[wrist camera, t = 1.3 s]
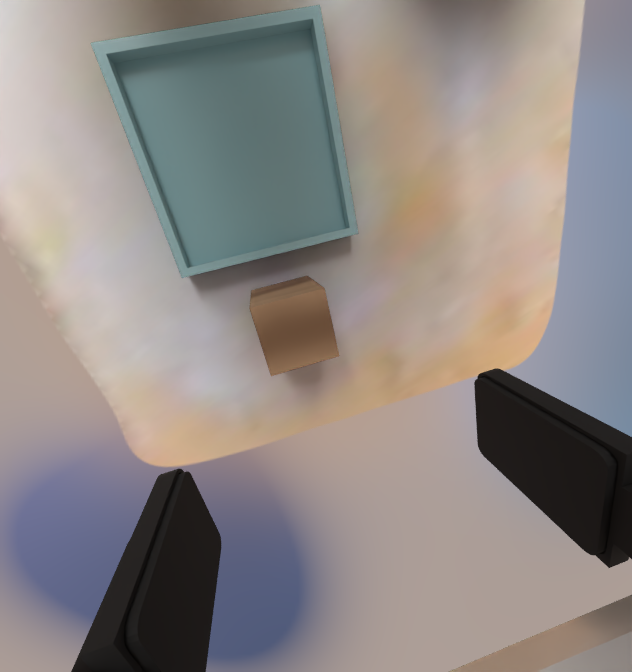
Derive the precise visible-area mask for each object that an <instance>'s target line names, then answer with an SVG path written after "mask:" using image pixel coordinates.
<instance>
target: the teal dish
mask: <svg viewBox="0 0 632 672" xmlns="http://www.w3.org/2000/svg"><path fill="white" fill-rule="evenodd" d="M91 45H92V48H93V51H94V53H95V56H96V58H97V61H98V63H99V66H100V69H101V71H102V74H103V76H104V79H105V81H106V84H107V87H108V89H109V92H110V94H111V97H112V99H113V102H114V105H115V107H116V110H117V112H118V115H119V117H120V120H121V123H122V125H123V128H124V130H125V133H126V135H127V138H128V141H129V143H130V146H131V148H132V151H133V153H134V156H135V158H136V161H137V164H138V166H139V169H140V171H141V174H142V176H143V179H144V182H145V184H146V187H147V189H148V192H149V194H150V197H151V200H152V202H153V205H154V207H155V210H156V212H157V215H158V218H159V220H160V223H161V225H162V228H163V230H164V233H165V236H166V238H167V241H168V243H169V246H170V248H171V251H172V254H173V256H174V259H175V261H176V264H177V266H178V269H179V272H180V274H181V277H182V278H184V277H188V276H192V275H196V274H200V273H204V272H208V271H212V270H216V269H220V268H224V267H228V266H232V265H236V264H240V263H244V262H248V261H252V260H256V259H260V258H264V257H268V256H272V255H276V254H280V253H284V252H288V251H292V250H296V249H300V248H304V247H307V246H311V245H315V244H319V243H323V242H327V241H331V240H335V239H339V238H343V237H347V236H351V235H355V234H358V229H357V223H356V217H355V211H354V205H353V199H352V193H351V187H350V181H349V175H348V169H347V163H346V157H345V151H344V145H343V140H342V134H341V128H340V122H339V116H338V110H337V104H336V98H335V92H334V86H333V80H332V74H331V68H330V62H329V56H328V50H327V44H326V38H325V32H324V26H323V20H322V14H321V8H320V5H316V6H310V7H304V8H298V9H292V10H286V11H279V12H273V13H267V14H261V15H255V16H249V17H243V18H237V19H231V20H225V21H219V22H213V23H207V24H201V25H195V26H189V27H183V28H177V29H171V30H165V31H159V32H153V33H147V34H141V35H135V36H129V37H123V38H117V39H111V40H105V41H99V42H93V43H91Z"/></svg>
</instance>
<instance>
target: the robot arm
mask: <svg viewBox="0 0 632 672" xmlns="http://www.w3.org/2000/svg"><path fill="white" fill-rule="evenodd" d="M475 402H476V421H477V439H478V447H479V450H480V452H481V453H482V454H483V456H484V457H485V458H486V459H487V460H488V461H490V462H491V463H492V464H493V465H494V466H495V467H496V468H497V469H498V470H499V471H500V472H501V473H502V474H503V475H504V476H506V477H507V478H508V479H509V480H510V481H511V482H512V483H513V484H514V485H515V486H516V487H517V488H518V489H519V490H520V491H522V493H524V494H525V495H526V496H527V497H528V498H529V499H530V500H531V501H532V502H533V503H534V504H535V505H536V506H537V507H538V508H540V509H541V510H542V511H543V512H544V513H545V514H546V515H547V516H548V517H549V518H550V519H551V520H552V521H553V522H554V523H555V524H556V525H557V526H559V527H560V528H561V529H562V530H563V531H564V532H565V533H566V534H567V535H568V536H569V537H570V538H571V539H573V541H575V542H576V543H577V544H578V545H579V546H580V547H581V548H582V549H583V550H584V551H586V552H587V553H589V554H590V555H596V556H597V557H598V558H599V559H600V560H601V561H602V562H603V563H604V564H606V565H607V566H608V567H609V568H610V567H612V566H615V565H618V564H620V563H623V562H625V561H627V560H628V559H629V557H630V558H631V559H632V437H630V436H628V435H626V434H624V433H623V432H621V431H619V430H617V429H615V428H613V427H611V426H609V425H607V424H605V423H603V422H601V421H599V420H597V419H595V418H594V417H592V416H590V415H588V414H586V413H584V412H582V411H580V410H578V409H576V408H574V407H572V406H570V405H568V404H567V403H564V402H563V401H561V400H559V399H557V398H555V397H553V396H551V395H549V394H547V393H545V392H543V391H541V390H539V389H538V388H536V387H534V386H532V385H530V384H528V383H526V382H524V381H522V380H520V379H518V378H516V377H514V376H512V375H510V374H509V373H507V372H505V371H503V370H501V369H493V370H489V371H486V372H483V373H480V374H479V375H478V379H477V380H475ZM220 553H221V537H220V534H219V532H218V529H217V527H216V525H215V523H214V521H213V519H212V517H211V515H210V513H209V511H208V509H207V507H206V505H205V502H204V500H203V498H202V496H201V494H200V492H199V490H198V488H197V486H196V484H195V482H194V480H193V478H192V476H191V474H190V473H189V472H184V471H183V470H182V469H177V470H174V471H170V472H167V473H164V474H161V475H159V476H158V478H157V480H156V482H155V484H154V487H153V489H152V491H151V494H150V496H149V498H148V500H147V503H146V505H145V507H144V510H143V512H142V515H141V516H140V519H139V521H138V524H137V526H136V528H135V530H134V532H133V535H132V537H131V539H130V541H129V542H128V544H127V546H126V549H125V551H124V553H123V556H122V558H121V560H120V562H119V565H118V567H117V569H116V571H115V574H114V576H113V578H112V581H111V583H110V585H109V587H108V590H107V592H106V594H105V596H104V599H103V601H102V603H101V605H100V608H99V610H98V612H97V615H96V617H95V619H94V622H93V624H92V626H91V628H90V631H89V633H88V635H87V637H86V640H85V642H84V644H83V646H82V649H81V651H80V653H79V655H78V658H77V660H76V662H75V665H74V667H73V669H72V671H71V672H206V664H207V656H208V648H209V640H210V632H211V624H212V615H213V608H214V600H215V593H216V584H217V577H218V569H219V561H220ZM450 672H632V595H630V596H628V597H626V598H623V599H621V600H618V601H616V602H614V603H611V604H609V605H606V606H604V607H602V608H599V609H597V610H594V611H592V612H590V613H587V614H585V615H582V616H580V617H578V618H575V619H573V620H570V621H568V622H565V623H563V624H561V625H558V626H556V627H554V628H551V629H549V630H547V631H544V632H542V633H539V634H537V635H534V636H532V637H530V638H527V639H525V640H522V641H520V642H518V643H515V644H513V645H511V646H508V647H506V648H504V649H501V650H499V651H497V652H494V653H492V654H489V655H487V656H485V657H482V658H480V659H478V660H475V661H473V662H471V663H468V664H466V665H463V666H461V667H459V668H457V669H454V670H452V671H450Z"/></svg>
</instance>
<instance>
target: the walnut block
mask: <svg viewBox="0 0 632 672" xmlns="http://www.w3.org/2000/svg"><path fill="white" fill-rule="evenodd" d="M250 311H251V315H252V318H253V321H254V324H255V327H256V330H257V333H258V336H259V340H260V343H261V346H262V349H263V352H264V355H265V358H266V362H267V365H268V368H269V371H270V374H271V376H273V375H277V374H280V373H283V372H287V371H290V370H294V369H297V368H300V367H304V366H307V365H310V364H314V363H317V362H321V361H324V360H327V359H331V358H334V357H338V356H339V352H338V348H337V343H336V339H335V334H334V330H333V325H332V321H331V316H330V312H329V307H328V302H327V298H326V293H325V289H324V288H323V287H322V286H321V285H319V284H318V283H317V282H315V281H314V280H312V279H311V278H310V277H308V276H304V277H301V278H297V279H293V280H289V281H285V282H281V283H278V284H274V285H270V286H266V287H262V288H259V289H255V290H251V299H250Z"/></svg>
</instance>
